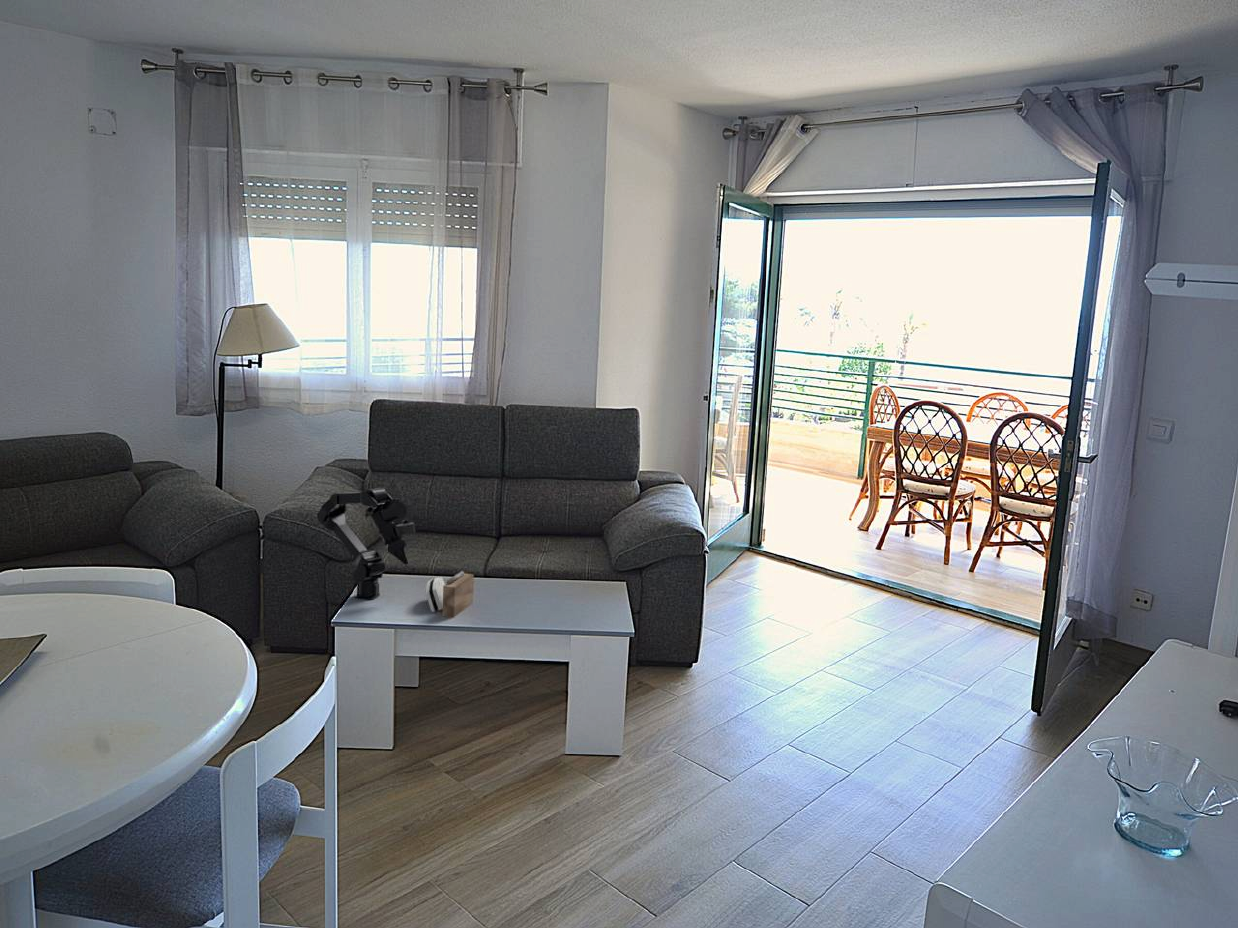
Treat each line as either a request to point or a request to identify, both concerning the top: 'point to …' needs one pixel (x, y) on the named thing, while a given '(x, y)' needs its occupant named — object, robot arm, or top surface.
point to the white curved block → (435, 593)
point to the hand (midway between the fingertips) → (406, 563)
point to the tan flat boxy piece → (457, 594)
